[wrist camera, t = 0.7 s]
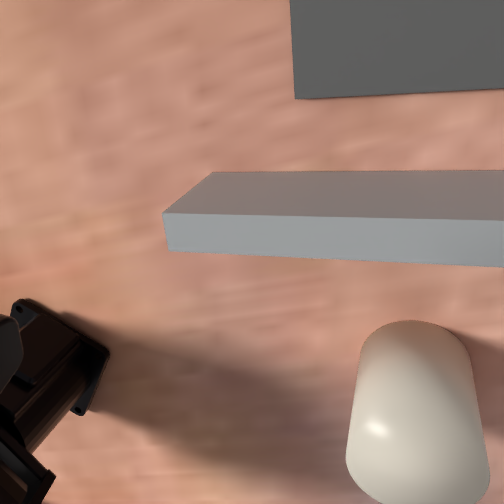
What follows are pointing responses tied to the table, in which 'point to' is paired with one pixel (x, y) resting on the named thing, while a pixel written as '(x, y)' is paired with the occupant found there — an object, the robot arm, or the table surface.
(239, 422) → the table surface
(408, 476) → the cream rounded cone
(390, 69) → the mat
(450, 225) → the wall
